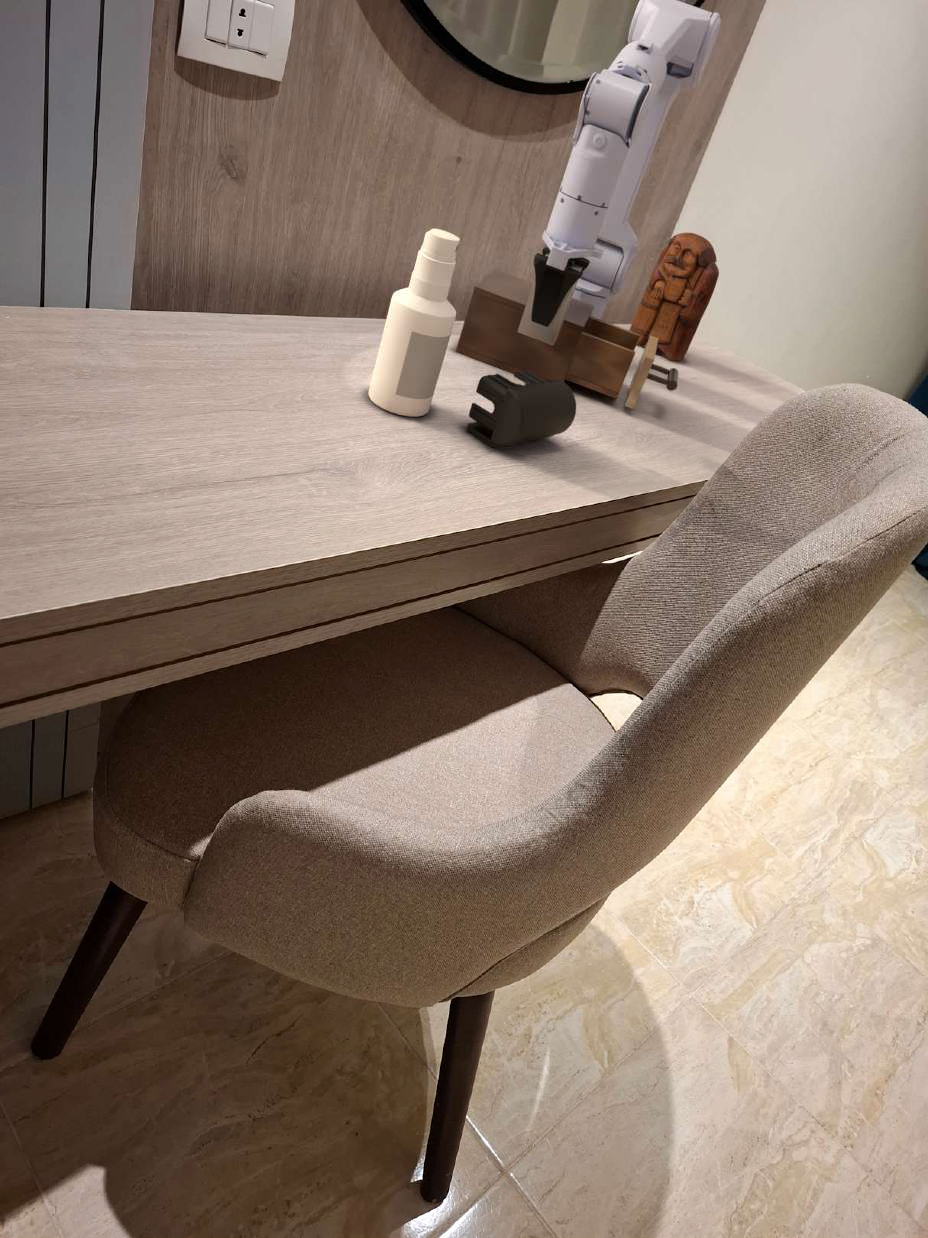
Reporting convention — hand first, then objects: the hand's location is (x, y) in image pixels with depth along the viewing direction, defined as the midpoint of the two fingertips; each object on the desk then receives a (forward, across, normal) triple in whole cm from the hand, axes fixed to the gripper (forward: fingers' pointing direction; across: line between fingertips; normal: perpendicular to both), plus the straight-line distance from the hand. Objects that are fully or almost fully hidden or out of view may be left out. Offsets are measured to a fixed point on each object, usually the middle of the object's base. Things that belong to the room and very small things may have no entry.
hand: (542, 319), depth 106 cm
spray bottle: (+10, -16, +11) cm, 22 cm away
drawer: (+9, +14, -10) cm, 19 cm away
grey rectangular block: (+2, 0, 0) cm, 2 cm away
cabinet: (+10, +14, +3) cm, 17 cm away
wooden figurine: (+10, +46, -15) cm, 49 cm away
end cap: (+10, -14, -2) cm, 17 cm away
